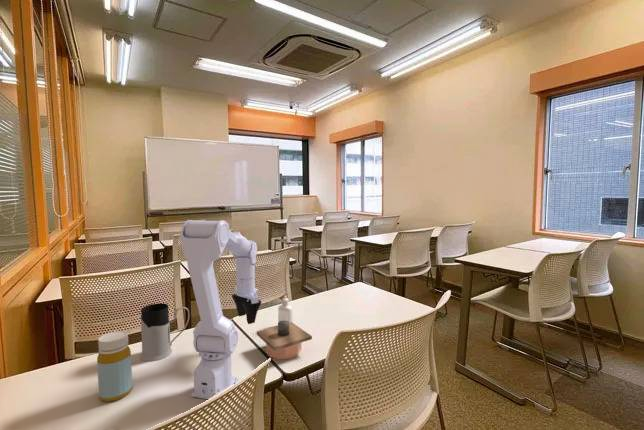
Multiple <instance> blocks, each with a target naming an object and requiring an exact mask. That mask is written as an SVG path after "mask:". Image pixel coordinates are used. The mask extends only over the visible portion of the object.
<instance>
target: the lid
mask: <svg viewBox="0 0 644 430" xmlns="http://www.w3.org/2000/svg"><path fill="white" fill-rule="evenodd" d="M256 336H258V337H259V338H260V339H261V340H262V341H263V342H264V343H265V344H267V345H268V346H270V347H271V348H272V349H273V350H274V351H276V350H279V349H282V348H285V347H288V346H292V345H295V344H298V343H301V344H302V343H304V342H307V341H310V340H313V336H312V335H311V334H310V333H308V332H307V331H305V330H304V329H302V328H301V327H300V326H298V325H296V324H295V323H294V322H293V323H292V322H291V323H289V321H279V322H278V321H277V325H275V326H272V327H268V328H265V329H261V330H258V331H256Z"/></svg>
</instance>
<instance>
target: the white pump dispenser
mask: <svg viewBox="0 0 644 430" xmlns="http://www.w3.org/2000/svg"><path fill="white" fill-rule="evenodd" d="M277 313H278V314H277V317H278V318H277V319H278V321H277V323H278V322H279V321H289V323H291V322H292V323H294V322H293V319H294V317H293V315H294V314H293V313H294V312H293V307H292V306H291V305H289V298H288V297H287V295H284V296H283V298H282V299H281V304H280V305H279V306H278V308H277Z"/></svg>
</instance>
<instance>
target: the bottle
mask: <svg viewBox="0 0 644 430" xmlns="http://www.w3.org/2000/svg"><path fill="white" fill-rule="evenodd" d="M97 343H98V355H97V358H96V359H97V364H96V365H97V381H98V384H97V385H98V397H99V399H100V400H101V401H103V402H106V403H111V402H116V401H119V400H121V399H123V398H125V397H126V396H127V395H129V393H130V392H131V391H132V390H133V373H132V353H131V351H132V350H131V348H130V347H129V333H128V332H127V331H125V330H115V331H111V332H108V333H104V334H102V335H101V336H100V337H98V340H97Z"/></svg>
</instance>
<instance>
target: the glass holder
mask: <svg viewBox="0 0 644 430" xmlns="http://www.w3.org/2000/svg"><path fill="white" fill-rule="evenodd" d="M180 309H184V310H186V311H187V320H186V323H185V325H184V327H183V328H182V330H181V331H179V333H178V334H177V335H176V336H174V337H173V339H172V340H171V330H170V329H171V327H170V326H171V324H170V323H173V322H176V318H177V317H176V315H177V312H178V311H180ZM140 314H141V315H140V331H141V332H140V335H141V356H140V359H141V361H144V362H156V361H161V360H163V359H166V358H167V357H169V356H170V355H171V354H172V353H173V349H172V344H173V342H174V341H175V340H176V339H177V338H178V337H179V336H181V334H182V333H183V332H184V331H185V330H186V328H187V327H188V323H189V321H190V311H189V308H188V307H185V306H180V307H178V308H176V310H175V312H174V314H173V319H172V320H171V321H170V316H169V305H168V303H163V302H162V303H158V302H157V303H152V304H149V305H145V306H143V307H141V309H140Z"/></svg>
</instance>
